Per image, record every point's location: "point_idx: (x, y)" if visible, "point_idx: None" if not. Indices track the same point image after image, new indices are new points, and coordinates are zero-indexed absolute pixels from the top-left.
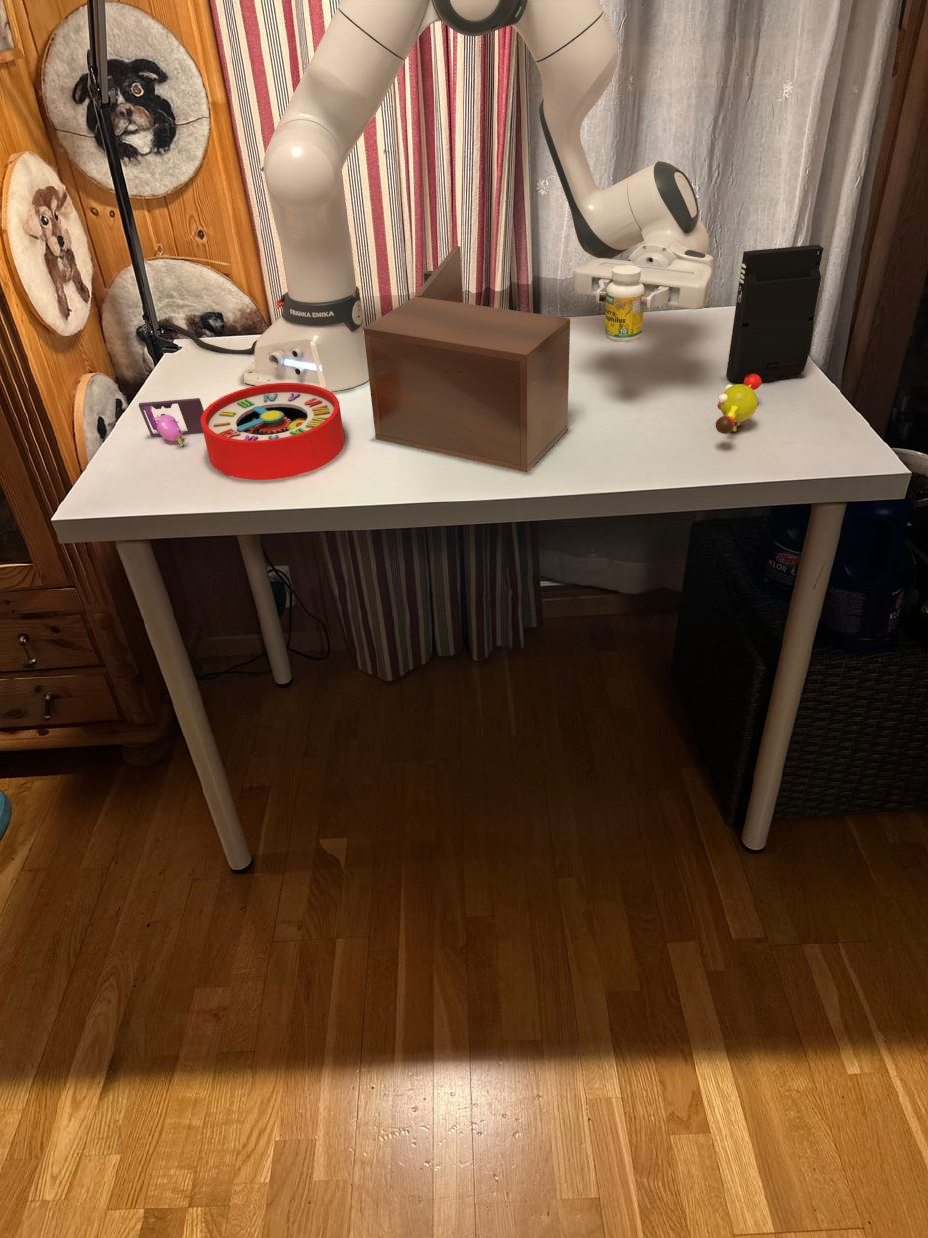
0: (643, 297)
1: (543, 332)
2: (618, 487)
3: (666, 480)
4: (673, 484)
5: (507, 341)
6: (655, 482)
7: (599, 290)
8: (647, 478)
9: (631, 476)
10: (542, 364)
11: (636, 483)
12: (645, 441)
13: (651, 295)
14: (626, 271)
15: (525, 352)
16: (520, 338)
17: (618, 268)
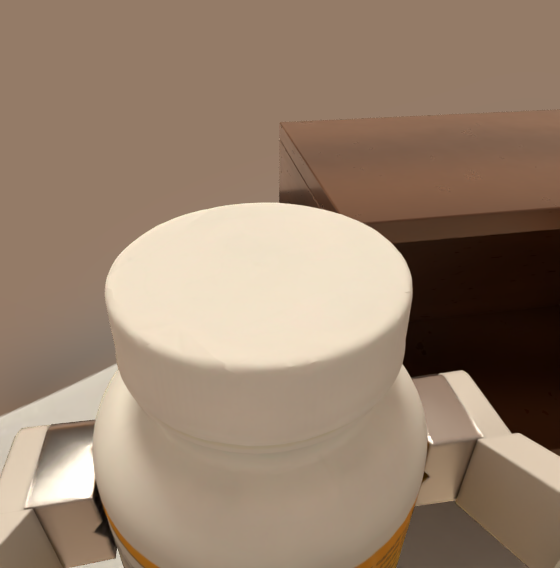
0: (88, 421)
1: (333, 165)
2: (111, 370)
3: (20, 427)
4: (3, 422)
5: (363, 133)
6: (43, 412)
7: (449, 375)
8: (62, 416)
9: (97, 407)
10: (294, 202)
11: (81, 393)
12: (103, 563)
13: (20, 462)
14: (228, 234)
15: (289, 124)
16: (352, 142)
17: (344, 255)
